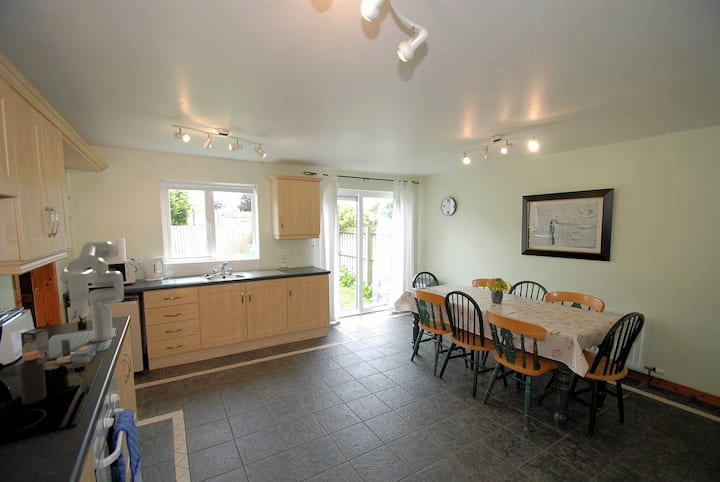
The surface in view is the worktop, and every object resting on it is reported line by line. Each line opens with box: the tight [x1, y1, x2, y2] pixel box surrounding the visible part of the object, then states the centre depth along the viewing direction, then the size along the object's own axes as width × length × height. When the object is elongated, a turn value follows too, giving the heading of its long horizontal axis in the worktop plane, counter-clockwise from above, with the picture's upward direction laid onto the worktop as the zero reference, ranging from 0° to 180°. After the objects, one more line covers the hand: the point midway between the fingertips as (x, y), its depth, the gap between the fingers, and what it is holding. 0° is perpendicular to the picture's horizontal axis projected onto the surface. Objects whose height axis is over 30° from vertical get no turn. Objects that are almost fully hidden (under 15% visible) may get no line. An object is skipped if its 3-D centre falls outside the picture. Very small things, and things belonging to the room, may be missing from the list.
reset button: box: [78, 347, 89, 351], centre depth 160 cm, size 3×3×3 cm
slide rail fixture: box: [39, 343, 97, 370], centre depth 157 cm, size 12×22×7 cm, turn 114°
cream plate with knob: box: [56, 338, 75, 364], centre depth 158 cm, size 8×5×10 cm, turn 24°
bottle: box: [19, 351, 47, 405], centre depth 126 cm, size 7×7×20 cm
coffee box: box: [20, 328, 51, 360], centre depth 165 cm, size 9×6×16 cm
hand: (82, 329), depth 160 cm, fingers closed
